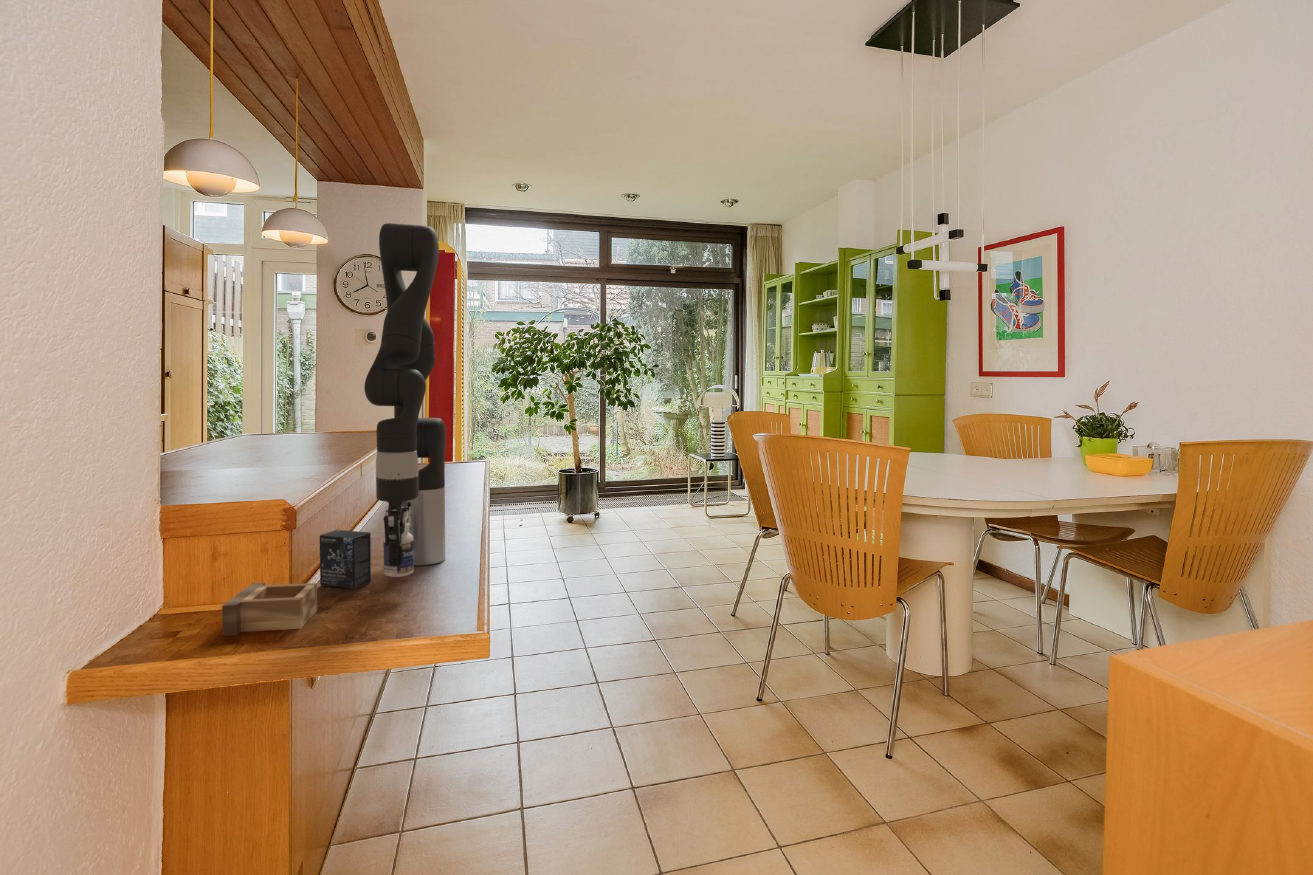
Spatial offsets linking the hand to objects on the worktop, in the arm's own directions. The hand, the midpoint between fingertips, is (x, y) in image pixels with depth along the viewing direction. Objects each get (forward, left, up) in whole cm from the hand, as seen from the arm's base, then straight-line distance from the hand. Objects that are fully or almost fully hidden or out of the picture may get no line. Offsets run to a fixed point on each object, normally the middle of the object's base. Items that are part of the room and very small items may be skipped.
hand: (398, 560), depth 124 cm
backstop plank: (+11, -23, -7) cm, 26 cm away
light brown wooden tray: (+11, -17, -7) cm, 22 cm away
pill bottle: (0, 0, -3) cm, 3 cm away
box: (-9, -12, -7) cm, 17 cm away
